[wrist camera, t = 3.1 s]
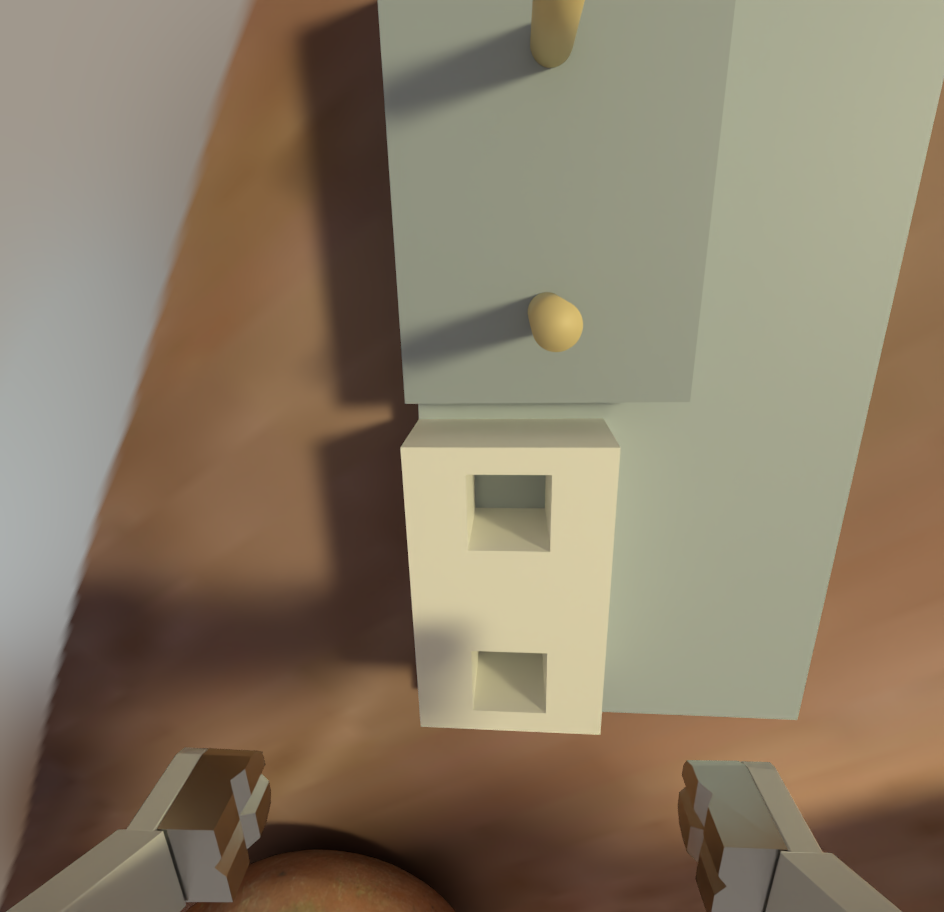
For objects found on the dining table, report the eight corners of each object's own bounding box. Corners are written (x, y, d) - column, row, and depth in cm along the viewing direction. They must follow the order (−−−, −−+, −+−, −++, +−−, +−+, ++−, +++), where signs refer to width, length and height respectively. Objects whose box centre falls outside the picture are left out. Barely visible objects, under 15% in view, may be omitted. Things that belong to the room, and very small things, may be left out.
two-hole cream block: (588, 670, 20) (600, 734, 17) (433, 664, 21) (420, 726, 18) (603, 418, 17) (620, 447, 14) (419, 418, 17) (400, 447, 15)
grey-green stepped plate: (782, 696, 21) (905, 892, 15) (440, 682, 23) (407, 859, 16) (940, -49, 14) (1366, -370, 7) (401, -10, 15) (303, -252, 8)
